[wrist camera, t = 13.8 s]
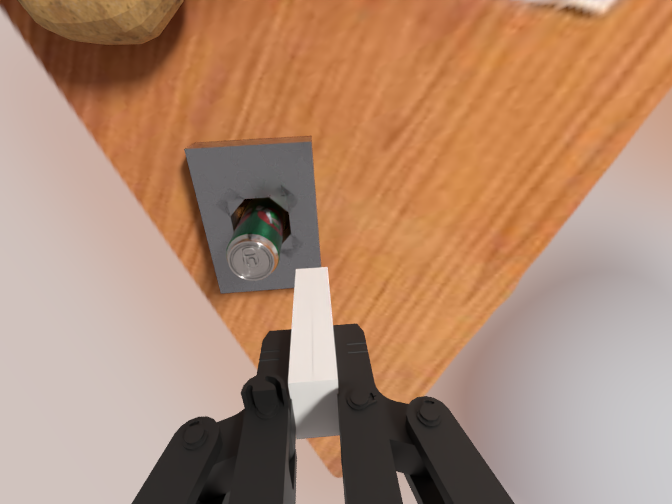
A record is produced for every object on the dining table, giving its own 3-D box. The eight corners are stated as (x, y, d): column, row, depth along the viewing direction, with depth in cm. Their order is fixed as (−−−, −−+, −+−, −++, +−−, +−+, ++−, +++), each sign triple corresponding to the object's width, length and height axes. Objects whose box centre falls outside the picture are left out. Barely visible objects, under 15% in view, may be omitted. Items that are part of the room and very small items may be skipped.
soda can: (250, 235, 43) (231, 288, 33) (240, 198, 41) (216, 241, 30) (289, 229, 43) (283, 280, 33) (281, 192, 41) (272, 234, 30)
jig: (194, 142, 37) (184, 149, 34) (311, 135, 38) (311, 141, 35) (226, 278, 46) (220, 293, 43) (321, 271, 46) (322, 285, 43)
